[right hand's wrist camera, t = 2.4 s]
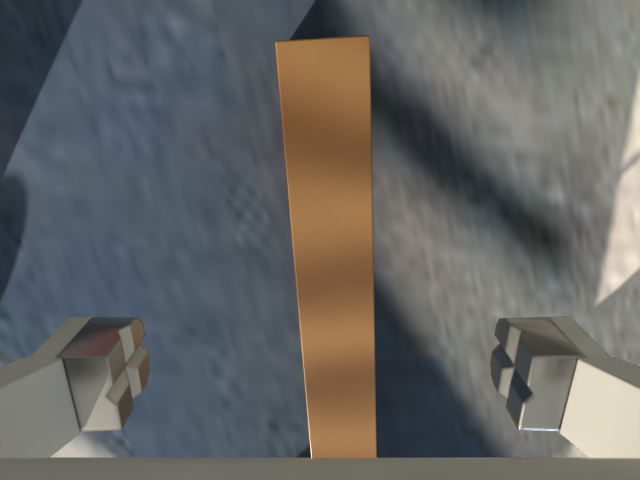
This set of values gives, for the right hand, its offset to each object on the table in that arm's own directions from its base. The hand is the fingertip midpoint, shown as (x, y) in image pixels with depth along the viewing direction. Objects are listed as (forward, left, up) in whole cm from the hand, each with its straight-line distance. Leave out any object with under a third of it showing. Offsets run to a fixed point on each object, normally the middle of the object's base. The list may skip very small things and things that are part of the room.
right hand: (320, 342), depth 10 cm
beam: (+17, -17, -25) cm, 35 cm away
